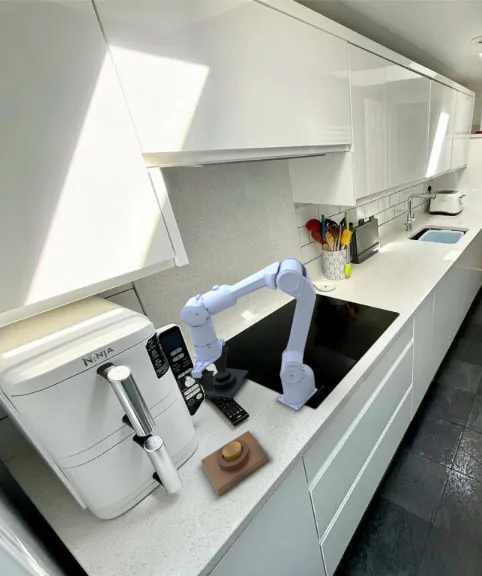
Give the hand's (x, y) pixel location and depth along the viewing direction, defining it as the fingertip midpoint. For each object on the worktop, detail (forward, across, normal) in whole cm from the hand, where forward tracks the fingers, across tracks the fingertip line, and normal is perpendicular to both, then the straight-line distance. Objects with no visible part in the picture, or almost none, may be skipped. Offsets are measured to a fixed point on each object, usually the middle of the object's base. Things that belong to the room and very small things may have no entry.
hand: (215, 380), depth 87 cm
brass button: (+7, +18, +11) cm, 22 cm away
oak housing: (+10, +18, +11) cm, 23 cm away
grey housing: (+10, -9, -3) cm, 14 cm away
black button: (+7, -9, -3) cm, 11 cm away
